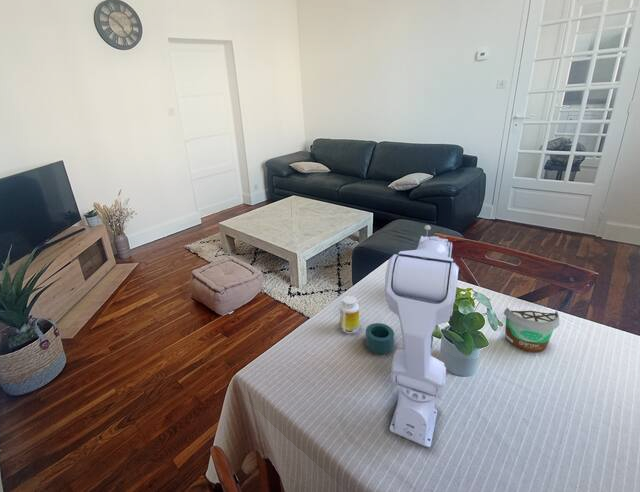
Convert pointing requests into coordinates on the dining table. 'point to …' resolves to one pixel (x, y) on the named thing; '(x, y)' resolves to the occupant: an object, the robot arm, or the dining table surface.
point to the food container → (530, 329)
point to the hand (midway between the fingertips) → (427, 334)
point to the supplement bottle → (349, 315)
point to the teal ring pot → (379, 338)
